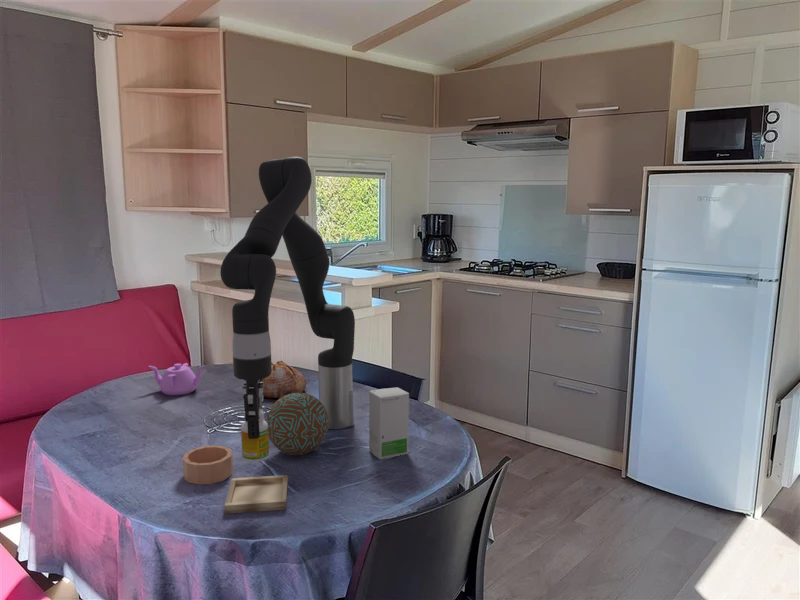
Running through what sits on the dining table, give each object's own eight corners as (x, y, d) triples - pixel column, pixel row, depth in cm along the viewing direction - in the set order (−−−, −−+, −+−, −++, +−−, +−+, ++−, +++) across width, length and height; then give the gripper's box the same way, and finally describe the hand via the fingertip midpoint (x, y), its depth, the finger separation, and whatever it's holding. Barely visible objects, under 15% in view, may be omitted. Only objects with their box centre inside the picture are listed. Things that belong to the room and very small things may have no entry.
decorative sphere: (339, 456, 152) (338, 397, 149) (281, 471, 144) (278, 408, 141) (313, 436, 164) (312, 381, 162) (258, 448, 156) (256, 390, 154)
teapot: (206, 391, 201) (205, 364, 199) (163, 400, 192) (161, 372, 191) (192, 382, 210) (190, 356, 208) (150, 390, 201) (148, 364, 200)
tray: (288, 482, 138) (287, 474, 138) (286, 509, 127) (285, 501, 126) (232, 486, 137) (231, 478, 136) (224, 513, 125) (224, 505, 125)
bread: (279, 382, 214) (280, 353, 212) (317, 395, 200) (318, 364, 199) (238, 390, 202) (238, 360, 200) (275, 404, 188) (275, 372, 187)
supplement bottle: (262, 463, 127) (260, 418, 125) (237, 461, 128) (235, 416, 126) (273, 453, 132) (271, 409, 130) (249, 451, 133) (247, 407, 131)
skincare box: (379, 460, 149) (378, 398, 147) (367, 450, 155) (367, 390, 152) (410, 454, 153) (410, 392, 151) (397, 444, 159) (397, 385, 156)
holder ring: (235, 462, 148) (234, 444, 148) (229, 482, 138) (228, 463, 137) (189, 465, 147) (188, 446, 146) (180, 485, 137) (178, 466, 136)
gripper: (268, 361, 120) (271, 445, 123) (273, 343, 134) (275, 419, 137) (228, 363, 119) (232, 447, 122) (237, 344, 133) (240, 420, 136)
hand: (255, 432), depth 129 cm, fingers closed on supplement bottle, 5 cm apart
